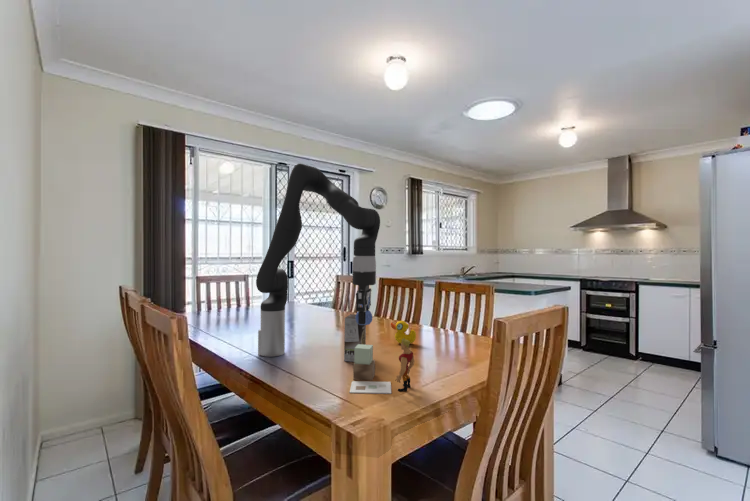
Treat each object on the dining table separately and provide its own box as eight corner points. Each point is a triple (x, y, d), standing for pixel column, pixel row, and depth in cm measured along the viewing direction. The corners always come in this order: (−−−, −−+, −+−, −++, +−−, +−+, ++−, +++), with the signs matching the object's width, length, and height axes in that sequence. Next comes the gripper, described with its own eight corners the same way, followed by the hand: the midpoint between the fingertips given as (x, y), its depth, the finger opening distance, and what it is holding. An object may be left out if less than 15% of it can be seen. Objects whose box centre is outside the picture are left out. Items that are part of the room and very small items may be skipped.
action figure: (404, 382, 120) (404, 334, 120) (415, 384, 118) (415, 335, 118) (393, 393, 111) (393, 341, 111) (405, 395, 110) (405, 342, 110)
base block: (353, 380, 122) (353, 364, 122) (356, 374, 128) (357, 358, 128) (372, 381, 122) (372, 365, 122) (374, 374, 128) (374, 359, 127)
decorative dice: (363, 322, 128) (363, 310, 128) (372, 323, 125) (372, 311, 125) (355, 323, 125) (355, 311, 125) (364, 325, 122) (364, 312, 122)
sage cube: (354, 363, 123) (354, 348, 123) (357, 359, 128) (358, 344, 128) (369, 364, 122) (370, 348, 122) (372, 360, 127) (372, 345, 127)
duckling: (388, 344, 168) (388, 321, 168) (392, 341, 174) (392, 319, 173) (414, 346, 165) (414, 323, 164) (417, 343, 170) (417, 320, 170)
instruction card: (349, 393, 111) (349, 391, 111) (352, 382, 120) (352, 381, 120) (391, 393, 111) (391, 392, 111) (390, 382, 120) (390, 381, 120)
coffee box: (360, 362, 141) (361, 318, 141) (343, 361, 142) (343, 317, 142) (366, 355, 150) (366, 314, 150) (350, 354, 151) (350, 313, 151)
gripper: (357, 268, 133) (356, 317, 133) (347, 270, 118) (347, 326, 118) (379, 268, 131) (378, 318, 131) (372, 271, 117) (371, 327, 117)
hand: (363, 322), depth 125 cm, fingers closed on decorative dice, 5 cm apart
